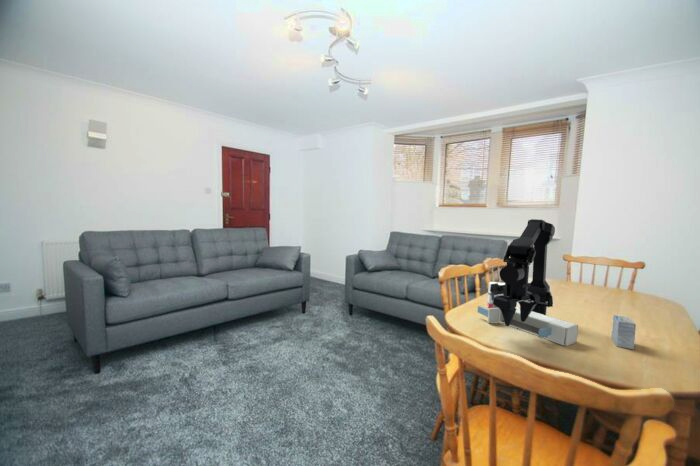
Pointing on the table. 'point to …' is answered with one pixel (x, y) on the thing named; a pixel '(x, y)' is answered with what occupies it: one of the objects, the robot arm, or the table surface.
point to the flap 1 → (490, 314)
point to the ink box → (491, 295)
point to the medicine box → (623, 332)
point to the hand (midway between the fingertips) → (515, 323)
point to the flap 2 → (553, 333)
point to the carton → (542, 325)
